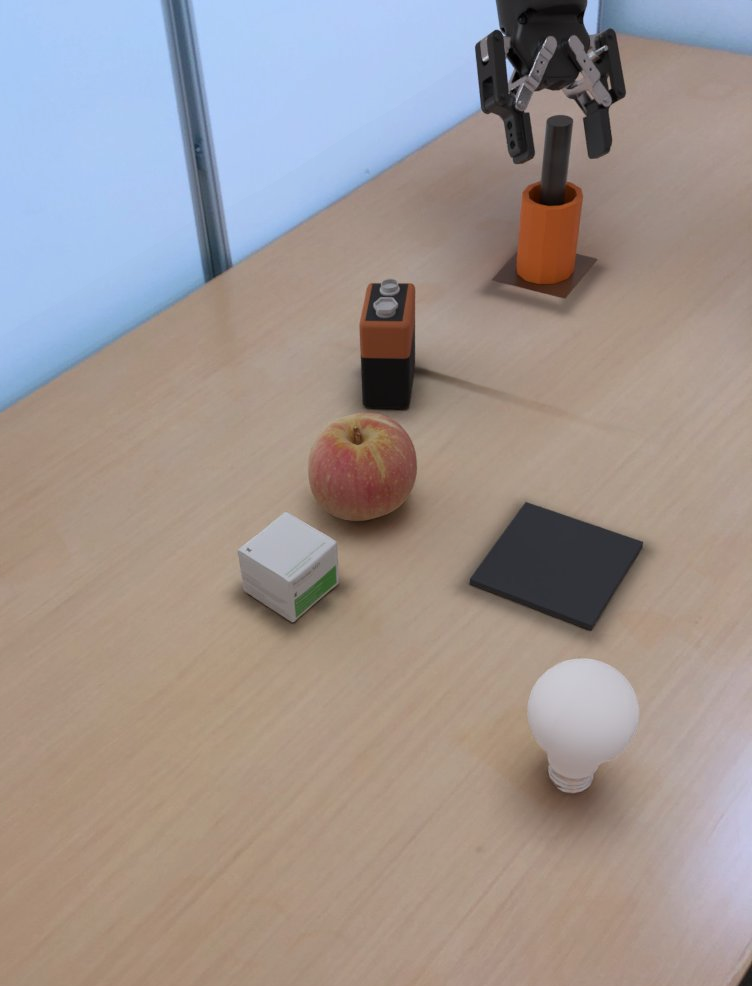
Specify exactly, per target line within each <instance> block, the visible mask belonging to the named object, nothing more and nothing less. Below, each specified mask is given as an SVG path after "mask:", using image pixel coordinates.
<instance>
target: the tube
mask: <svg viewBox="0 0 752 986" xmlns="http://www.w3.org/2000/svg"><path fill="white" fill-rule="evenodd" d="M540 185H541V180H539V181H537V182H534V183H531V184H529V185H527V186H526V187H525V188H524V189H523V191H522V192H521V202H520V213H519V214H520V215H519V228H518V239H517V240H518V241H517V250H516V252H517V264H516V268H517V274H518V275H519V276H520V277H522V278H523V279H524V280H526V281H528V282H532V283H536V284H555V283H558V282H561V281H563V280H566V279H568V278H569V277H570V275H571V274H572V273H573V272H574V266H575V258H576V254H577V249H578V241H579V233H580V225H581V217H582V207H583V199H584V195H583V190H582V188H581V187H579V186H578V185H577V184H575V183H574V182H572V181H567V183H566V192H565V201H564V205H560V206H546V205H541V204H539V196H540Z"/></svg>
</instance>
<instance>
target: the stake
mask: <svg viewBox="0 0 752 986" xmlns="http://www.w3.org/2000/svg"><path fill="white" fill-rule="evenodd" d="M573 128H574V118H572V117H571V116H569V115H565V114H556V115H555V114H554V115H552V116H549V117H548V118H547V119H546V122H545V132H544V141H543V142H544V143H543V154H542V163H541V164H542V165H541V175H540V181H541V185H540V196H539V204H541V205H546V206H560V205H564V201H565V192H566V183H567V182H568V173H569V163H570V157H571V156H570V155H571V147H572V138H573ZM598 260H599V259H598V258H597V257H592V256H588V255H583V254H578V253H576V258H575V266H574V272H573V273H572V274H571V275H570V277H569V278H568V279H566V280H563V281H561V282H558V283H555V284H536V283H532V282H528V281H526V280H524V279H523V278H522V277H520V276H519V275H518V274H517V268H516V264H517V251H516V252H515V253H514V254H513V255H512V256H511V257H510V258H509V260H508V261H507V262H506V263H505V264H504V265H503V266H502V268H501V269H500V270H499V271H498V272H497V273H496V274H495V275H494V276H493V278H492V279H491V281H493V282H496V283H499V284H500V283H501V284H503V285H504V284H506V285H508V286H513V287H516V288H520V289H524V290H529V291H532V292H537V293H540V294H544V295H548V296H552V297H556V298H561V299H565V300H566V299H567V297H568V296H570V294H571V293H572V291H573V290H574V289H575V288H576V287H577V285H578V284H579V283H580V282H581V281H582V279H583V278H584V277H585V276H586V275H587V273H588V272H589V271H590V270H591V268H592V267H593V266H594V265H595V264H596V262H597V261H598Z"/></svg>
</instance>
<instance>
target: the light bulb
mask: <svg viewBox="0 0 752 986" xmlns="http://www.w3.org/2000/svg"><path fill="white" fill-rule="evenodd" d="M636 694H637V693H636V691H635V690H634V688H633V686H632V684H631V683H630V681H629V680H628V679H627V678H626V677H625V676H624V674H622V672H620V670H619V669H617V668H615V667H614V666H612V665H610V664H608V663H606V662H603V661H600V660H597V659H593V658H584V657H583V658H581V657H580V658H571V659H567V660H564V661H560V662H558V663H556V664H555V665H553V666H552V667H550V668H548V669H547V670H545V671H544V673H542V674H541V675H540V676H539V677H538V678H537V680H536V682H535V683H534V685H533V687H532V688H531V691H530V694H529V697H528V701H527V708H526V709H527V710H526V715H527V717H526V718H527V722H528V727H529V730H530V732H531V734H532V736H533V739H534V740H535V742H536V743H537V744H538V746H539V747H540V748H541V749H542V751H544V752H545V753H546V758H547V762H548V765H547V774H548V776H549V779H550V782H551V783H552V785H554V787H555V788H556V789H558V790H559V791H560V792H562V793H565V794H566V793H567V794H578V793H579V794H580V793H582V792H583V791H585V790H587V789H589V787H590V786H591V785H592V783H593V782H594V778H595V773H596V772H597V770H598V769H599V767H600V765H602V764H605V763H607V762H609V761H612V760H614V759H615V758H616V757H618V756H620V755H621V754H622V753H623V752H624V750H625V749H626V748H627V747H628V746H629V745H630V744H631V742H632V740H633V739H634V736H635V734H636V732H637V730H638V726H639V723H640V722H639V721H640V705H639V702H638V697H637V695H636Z"/></svg>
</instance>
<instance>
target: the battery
mask: <svg viewBox="0 0 752 986" xmlns="http://www.w3.org/2000/svg"><path fill="white" fill-rule="evenodd" d="M360 314H361V315H360V319H359V325H358V326H359V327H358V328H359V329H358V330H359V349H360V352H359V353H360V375H361V396H362V397H361V399H362V405H363V407H365V408H367V409H368V408H369V409H404V410H405V409H407V408H409V407H410V404H411V399H412V390H413V384H414V377H415V369H416V286H415V284H413V282H412V283H410V282H399V281H398V280H397V279H395V278H386V279H383V280H382V281H381V282H370V283H369V284H368V285H367V287H366V290H365V295H364V300H363V304H362V310H361V313H360Z"/></svg>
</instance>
